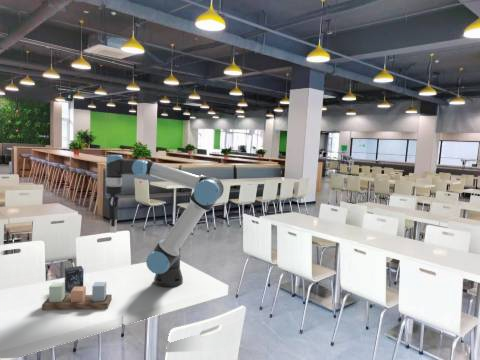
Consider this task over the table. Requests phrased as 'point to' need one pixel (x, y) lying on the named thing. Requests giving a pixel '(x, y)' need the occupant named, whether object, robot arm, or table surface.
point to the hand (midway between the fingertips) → (113, 232)
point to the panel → (77, 304)
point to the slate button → (99, 291)
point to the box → (73, 277)
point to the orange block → (78, 294)
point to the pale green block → (57, 292)
